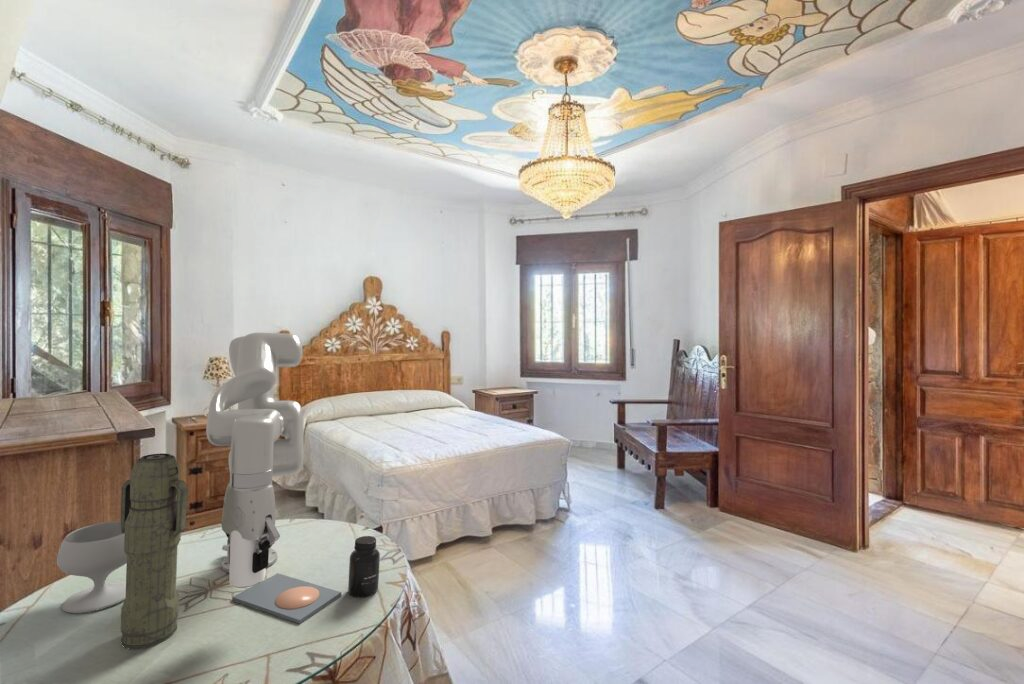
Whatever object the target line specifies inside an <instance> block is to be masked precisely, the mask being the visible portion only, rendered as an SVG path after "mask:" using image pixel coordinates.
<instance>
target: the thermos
mask: <svg viewBox="0 0 1024 684" xmlns="http://www.w3.org/2000/svg"><path fill="white" fill-rule="evenodd" d="M188 493H189V486H188V485H187V483H186V482H185V480H180V467H179V464H178V462H177V459H176V456H175V455H172V454H170V453H151V454H146V455H143V456H141V457H140V458H137V459H136V460H135V463H134V465H133V468H132V470H131V473H130V479H128V480H126V481H125V483H124V484H123V485H122V486H121V501H120V503H121V504H120V521H121V531H122V533H125V535H124V551H125V553H126V555H127V563H126V567H125V568H126V574H125V575H126V577H125V579H126V580H125V583H126V597H125V600H123V601H124V602H123V604H122V607H121V610H120V611H121V612H120V613H121V614H120V616H121V617H120V633H121V641H120V643H121V642H122V643H121V646H122V645H123V646H124V647H125V649H127V648H129V649H128V650H140V649H141V648H142V649H147V648H149V647H154V646H155V645H158V644H161V643H162V642H163V643H164V642H165V641H166V640H168V639H170V638H171V637H173V635H174V634H175V633H176V632H175V631H177V629H178V616H179V609H180V608H179V607H180V605H179V603H180V595H179V591H178V589H177V575H178V574H177V569H178V545H179V544H180V542H181V539H182V538H181V537H182V532H184V531H185V530H186V528H187V509H188V495H189V494H188ZM174 632H175V633H174ZM123 646H122V647H123ZM124 647H123V648H124Z"/></svg>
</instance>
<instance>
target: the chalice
mask: <svg viewBox="0 0 1024 684" xmlns="http://www.w3.org/2000/svg"><path fill="white" fill-rule="evenodd" d="M124 535H125V533H122V531H121V520H115V521H106V522H100V523H96V524H90V525H87V526H83V527H81V528H78V529H75V530H73V531H71V532H70V533H67V535H66V536H65V537H64V539H63V541H62V542H61V544H60V546H59V548H58V552H57V557H56V565H57V566H58V568H59V570H60V571H62V573H65V574H66V575H71V576H74V577H75V576H76V577H84V578H88V579H90V580H92V582H93V585H94V586H92V588H91V587H88V588H89V589H88V588H86V590H85V589H83V590H80V591H78V592H76V593H74V594H72V595H71V596H70V597H68V598H66V599H65V600H64V601H65V602H64V601H63V603H61V606H60V608H61V610H62V611H63V612H65V613H69V614H84V613H91V612H96V611H100V610H103V609H106V607H107V608H110V607H112V606H114V605H117V604H119V603H121V602H123V601H125V597H126V582H110V583H106V581H107V578H108V577H109V575H111V574H112V573H113V572H115V571H116V570H118V569H119V568H121V567H124V566H125V565H127V555H126V553H125V551H124ZM95 610H96V611H95ZM83 612H84V613H83Z"/></svg>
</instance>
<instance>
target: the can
mask: <svg viewBox="0 0 1024 684" xmlns="http://www.w3.org/2000/svg"><path fill="white" fill-rule="evenodd" d="M237 528H238V527H237ZM262 534H264V531H263V533H262ZM263 542H264V537H263V538H261V539H260V543H261V544H262V543H263ZM255 552H256V551H255V547H254V542H253V541H249V540H246V539H243V538H242V536H241V534H240V533H239V532H238V531H233V532H231V535H230V570H229V573H228V574H229V576H228V578H229V579H228V580H229V584H230V585H231V586H232V587H234V588H238V589H243V588H244V589H245V588H250V587H252V586H254V585H256V584H258V583H260V582H262V581H264V580H265V577H266V575H267V574H266V571H267V567H266V568H264V569H263V570H261V571H259V572H257V573H253V572H252V564H253V553H255Z"/></svg>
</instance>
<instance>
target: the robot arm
mask: <svg viewBox="0 0 1024 684" xmlns="http://www.w3.org/2000/svg"><path fill="white" fill-rule="evenodd" d="M228 355H229V361H230V366H231V369H232V371H233V375H234V377H232V378H230V379H229V380H227V381H226V382H225V383H223V385H221V386H220V387H219V388H218V389H217V390H216V391H215V393H214V394H213V396H212V398H211V400H210V403H209V407H208V412H207V413H208V414H207V418H206V419H207V420H206V430H205V431H206V437H207V438H206V439H207V441H208V442H209V443H210V444H211V445H213V446H216V447H217V446H218V447H230V450H229V453H228V468H229V477H230V478H229V483H227V486H226V490H225V493H224V498H223V499H224V500H223V507H222V513H221V514H222V517H221V521H220V525H221V529H222V531H223V532H224V533H225V535H226V538H227V541H226V542H227V543H226V544H224V545H222V548H221V549H222V551H225V552H227V554H226V555H227V556H226V557H225V558H224V559H223V560H222V562H221V569H222V570H223V571H224V572H225V573H228V574H229V570H230V535H231V532H233V531H238V532H239V533H240V534H241V536H242V538H243V539H246V540H249V541H253V542H254V547H255V551H256V552H255V553H253V564H252V572H253V573H257V572H259V571H261V570H263V569H264V568H266V569H267V568H268V567H270V566H272V565H273V564H274V563H275V562H276V561H277V560H278V552H277V551H276V550H274V549H272V546H273V545H274V544H275V542H276V541H278V540H279V539H280V538H281V534H280V533H279V531H278V529H277V526H276V498H275V497H276V496H275V490H274V489H275V488H274V485H273V478H274V477H281V476H282V477H284V476H292V475H297V474H298V473H299V472H301V471H302V469H303V466H304V459H305V457H304V456H305V454H304V453H305V451H304V450H305V445H304V442H305V441H304V440H305V439H304V438H305V437H304V434H305V433H304V413H303V408H302V405H301V404H300V403H299V402H297V401H296V400H275V399H274V396H275V395H274V392H275V384H276V383H277V368H295V367H298V366H299V365H300V363H301V362H302V358H303V343H302V341H301V339H300V337H299V336H298V335H297V334H293V333H283V332H282V333H281V332H278V333H277V332H252V333H248V334H246V335H243V336H242V335H241V336H238V337H235V338H233V339H232V340H231V341H230V343H229V347H228ZM234 405H237V409H229V408H231V407H232V406H234ZM280 436H282V437H284V438H281V439H280V438H279V437H280ZM237 527H238V528H237ZM263 531H264V534H262V533H263ZM263 537H264V542H263V543H262V544H261V543H260V539H261V538H263Z"/></svg>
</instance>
